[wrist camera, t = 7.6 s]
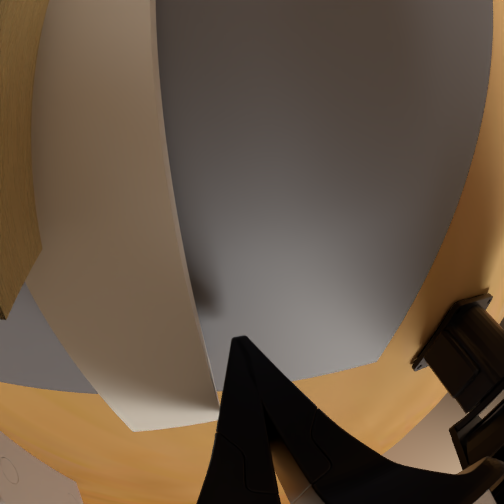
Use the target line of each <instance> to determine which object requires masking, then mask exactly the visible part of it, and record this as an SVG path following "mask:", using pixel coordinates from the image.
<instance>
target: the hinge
mask: <svg viewBox="0 0 504 504" xmlns="http://www.w3.org/2000/svg"><path fill="white" fill-rule="evenodd" d="M0 504H83V501H82V498H81V495H80V493H79V490H78V487H77V484H76V482H75V481H73V480H71V479H69V478H68V477H66V476H64V475H62V474H61V473H59V472H57V471H56V470H54V469H52V468H51V467H49V466H48V465H46V464H44V463H43V462H41V461H40V460H38V459H37V458H35V457H34V456H32V455H31V454H30V453H28V452H27V451H25V450H24V449H23V448H21V447H20V446H19V445H17V444H16V443H15V442H13V441H12V440H11V439H9V438H8V437H7V436H6V435H4V434H3V433H2V432H1V431H0Z"/></svg>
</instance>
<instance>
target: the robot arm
mask: <svg viewBox="0 0 504 504" xmlns="http://www.w3.org/2000/svg"><path fill="white" fill-rule="evenodd" d="M492 298H493V296H492V295H491V294H485V295H481V296H478V297H474V298H470V299H466V300H462V301H458V302H456V303H455V304H454V305H453V306H452V308H451V309H450V311H449V313H448V314H447V316H446V317H445V319H444V321H443V322H442V324H441V325H440V327H439V328H438V330H437V331H436V333H435V334H434V336H433V337H432V339H431V340H430V342H429V343H428V345H427V346H426V347H425V349H424V350H423V352H422V353H421V354H420V356H419V357H418V358H417V360H416V361H415V362H414V364H413V365H412V369H413V370H414V371H418V370H420V369H422V368H425V367H427V366H429V367H430V368H431V369H432V371H433V372H434V373H435V375H436V376H437V377H438V379H439V380H440V381H441V383H442V384H443V386H444V387H445V388H446V390H447V391H448V392H449V394H450V395H451V397H453V398H455V399H456V400H457V402H458V403H459V405H460V406H461V408H462V409H463V411H464V412H465V413H468V412H470V413H469V414H467V415H466V416H465V417H464V418H463V419H461V420H460V421H458V422H457V423H456V424H454V425H453V426H452V427H451V428H449V432H450V435H451V437H452V441H453V444H454V446H455V449H456V452H457V455H458V458H459V460H460V464H461V467H462V470H463V471H461V472H459V473H458V474H447V473H441V472H434V471H429V470H423V469H418V468H413V467H409V466H404V465H401V464H397V463H395V462H393V461H391V460H389V459H387V458H385V457H383V456H382V455H380V454H379V453H377V452H375V451H374V450H372V449H371V448H369V447H368V446H366V445H365V444H363V443H362V442H360V441H359V440H357V439H356V438H354V437H353V436H351V435H350V434H349V433H347V432H346V431H345V430H343V429H342V428H341V427H339V426H338V425H337V424H336V423H335V422H333V421H332V420H331V419H330V418H329V417H328V416H327V415H326V414H325V413H323V412H322V411H321V410H320V409H317V406H316V405H315V404H314V403H313V402H312V401H311V400H310V399H309V398H308V397H307V396H305V395H304V394H303V393H302V392H301V391H300V390H299V389H298V388H297V387H296V386H295V385H294V384H293V383H292V382H291V381H290V380H289V379H288V378H287V377H286V376H285V375H284V374H283V373H282V372H281V371H280V370H279V369H278V368H277V367H276V366H275V365H274V364H273V363H272V362H271V361H270V360H269V359H268V358H267V356H266V355H265V354H264V353H263V352H262V351H261V350H260V349H259V348H258V347H257V346H256V345H255V344H254V343H253V342H252V341H251V340H250V339H249V338H248V337H247V336H246V335H243V336H237V337H233V338H232V339H231V345H230V351H229V357H228V362H227V368H226V374H225V380H224V386H223V392H222V398H221V404H220V410H219V416H218V422H217V429H216V432H217V433H216V434H215V440H214V446H213V450H212V455H211V460H210V463H209V467H208V470H207V474H206V477H205V480H204V483H203V486H202V489H201V492H200V495H199V498H198V501H197V504H281V502H280V497H279V495H278V494H279V492H278V486H277V481H276V475H275V472H276V474H277V476H278V478H279V481H280V483H281V485H282V487H283V489H284V491H285V493H286V495H287V498H288V500H289V502H290V504H504V399H503V400H502V401H501V402H500V403H499V404H498V405H497V406H496V407H495V408H493V409H492V411H490V412H489V413H488V414H487V415H486V416H485V417H484V418H483V419H481V418H480V417H479V416H478V415H479V414H481V413H482V412H483V411H484V410H485V409H486V408H487V407H488V406H489V405H490V404H491V403H492V402H493V401H494V400H495V399H496V398H497V397H498V396H499V395H500V394H501V393H502V392H503V391H504V330H503V329H502V327H501V326H500V325H499V324H498V323H497V322H496V321H495V320H494V319H493V318H492V317H491V316H490V315H489V314H488V312H487V311H486V309H487V307H488V305H489V304H490V302H491V300H492Z"/></svg>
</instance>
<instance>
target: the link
mask: <svg viewBox="0 0 504 504" xmlns="http://www.w3.org/2000/svg"><path fill="white" fill-rule="evenodd" d="M31 154H32V174H33V186H34V196H35V205H36V213H37V220H38V226H39V232H40V238H41V243H42V248H43V249H42V251H41V253H40V254H39V256H38V258H37V260H36V261H35V263H34V265H33V267H32V269H31V270H30V272H29V274H28V276H27V278H26V280H25V283H26V285H27V287H28V289H29V291H30V293H31V295H32V296H33V298H34V300H35V302H36V304H37V305H38V307H39V309H40V311H41V312H42V314H43V316H44V317H45V319H46V321H47V322H48V324H49V326H50V327H51V329H52V330H53V332H54V334H55V335H56V337H57V338H58V340H59V341H60V343H61V344H62V346H63V347H64V349H65V350H66V352H67V353H68V354H69V356H70V357H71V359H72V360H73V361H74V363H75V364H76V365H77V367H78V368H79V370H80V371H81V372H82V373H83V375H84V376H85V377H86V379H87V380H88V381H89V382H90V384H91V385H92V386H93V387H94V389H95V390H96V391H97V392H98V394H99V395H100V396H101V397H102V398H103V399H104V401H105V402H106V403H107V404H108V405H109V406H110V408H111V409H112V410H113V411H114V412H115V413H116V414H117V415H118V416H119V417H120V419H121V420H122V421H123V422H124V423H125V424H126V425H127V426H128V427H129V428H130V429H131V430H132V431H133V432H137V431H148V430H158V429H166V428H174V427H181V426H188V425H194V424H200V423H206V422H211V421H216V420H218V416H219V410H220V404H219V400H218V396H217V392H216V387H215V383H214V379H213V375H212V370H211V366H210V361H209V358H208V354H207V350H206V346H205V342H204V338H203V334H202V330H201V326H200V322H199V318H198V313H197V309H196V305H195V300H194V296H193V291H192V287H191V282H190V277H189V273H188V268H187V263H186V258H185V253H184V248H183V242H182V237H181V232H180V226H179V221H178V215H177V209H176V203H175V197H174V191H173V185H172V178H171V171H170V164H169V157H168V150H167V142H166V134H165V126H164V117H163V108H162V98H161V88H160V76H159V64H158V49H157V30H156V0H49V3H48V7H47V11H46V15H45V19H44V23H43V27H42V32H41V37H40V42H39V48H38V54H37V60H36V68H35V76H34V85H33V98H32V117H31Z"/></svg>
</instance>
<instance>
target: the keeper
mask: <svg viewBox="0 0 504 504" xmlns="http://www.w3.org/2000/svg"><path fill="white" fill-rule="evenodd" d="M48 3H49V0H0V319H1V320H7V318H8V315H9V313H10V311H11V309H12V306H13V304H14V302H15V300H16V298H17V296H18V294H19V292H20V290H21V288H22V286H23V284H24V282H25V280H26V278H27V276H28V274H29V272H30V270H31V269H32V267H33V265H34V263H35V261H36V260H37V258H38V256H39V254H40V253H41V251H42V249H43V248H42V243H41V238H40V232H39V226H38V220H37V213H36V205H35V196H34V186H33V174H32V154H31V117H32V98H33V85H34V76H35V68H36V60H37V54H38V48H39V42H40V37H41V32H42V27H43V23H44V19H45V15H46V11H47V7H48Z"/></svg>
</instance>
